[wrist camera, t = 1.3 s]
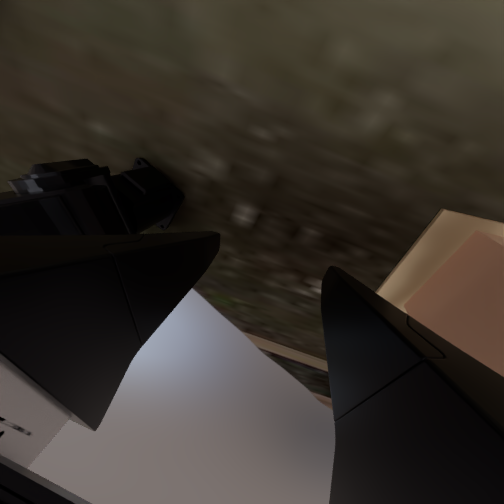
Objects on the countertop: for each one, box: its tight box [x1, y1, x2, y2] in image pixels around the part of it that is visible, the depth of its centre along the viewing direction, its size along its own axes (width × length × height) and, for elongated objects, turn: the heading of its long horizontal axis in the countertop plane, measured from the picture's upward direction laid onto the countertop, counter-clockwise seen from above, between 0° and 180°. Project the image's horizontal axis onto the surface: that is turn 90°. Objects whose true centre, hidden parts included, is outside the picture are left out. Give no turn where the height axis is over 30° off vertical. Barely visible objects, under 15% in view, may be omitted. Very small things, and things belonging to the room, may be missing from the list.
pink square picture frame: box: [404, 230, 504, 377], centre depth 15 cm, size 3×10×10 cm, turn 170°
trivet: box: [375, 208, 504, 314], centre depth 18 cm, size 18×12×1 cm, turn 80°
